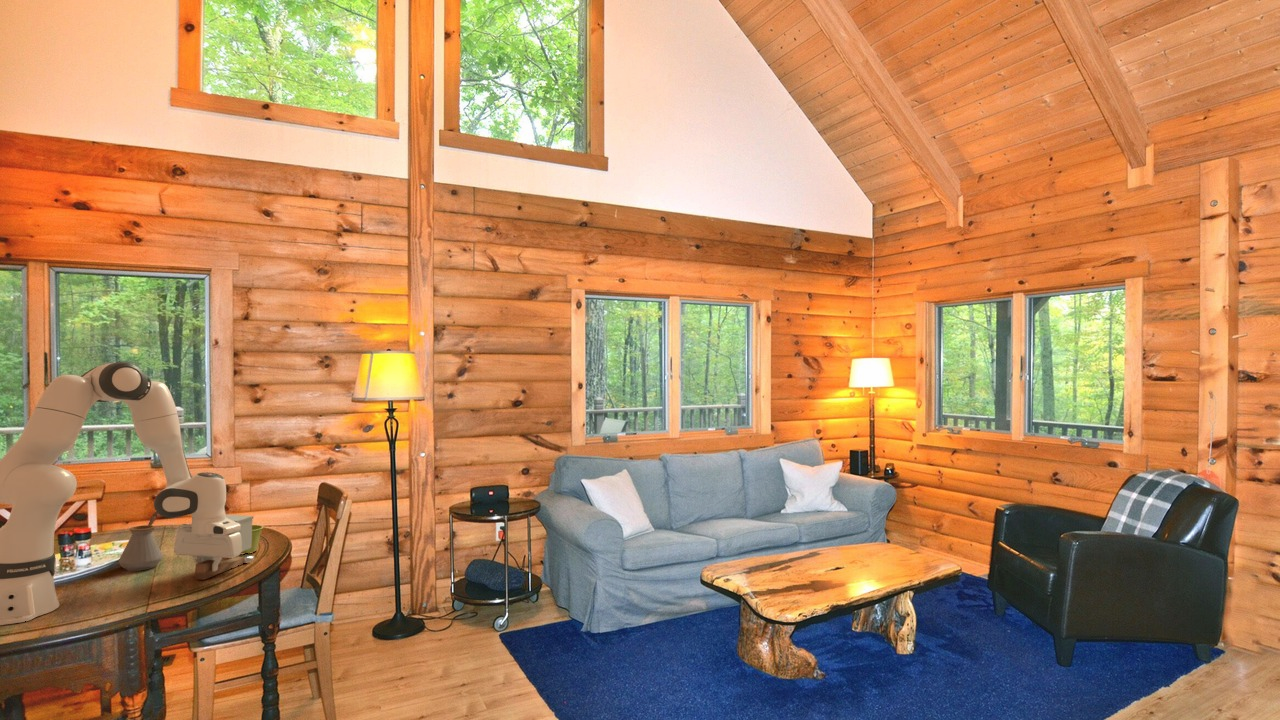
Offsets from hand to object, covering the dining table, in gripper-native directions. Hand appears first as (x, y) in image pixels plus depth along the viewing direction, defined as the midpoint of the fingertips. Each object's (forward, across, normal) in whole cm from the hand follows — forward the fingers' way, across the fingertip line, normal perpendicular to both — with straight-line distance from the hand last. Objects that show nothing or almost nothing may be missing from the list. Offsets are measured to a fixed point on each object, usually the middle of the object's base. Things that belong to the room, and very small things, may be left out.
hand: (207, 570), depth 206 cm
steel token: (+3, 0, +17) cm, 17 cm away
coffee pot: (+3, -30, +10) cm, 31 cm away
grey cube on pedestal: (+2, 0, +8) cm, 8 cm away
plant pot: (+3, -7, +27) cm, 28 cm away
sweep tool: (+2, 0, +6) cm, 6 cm away
